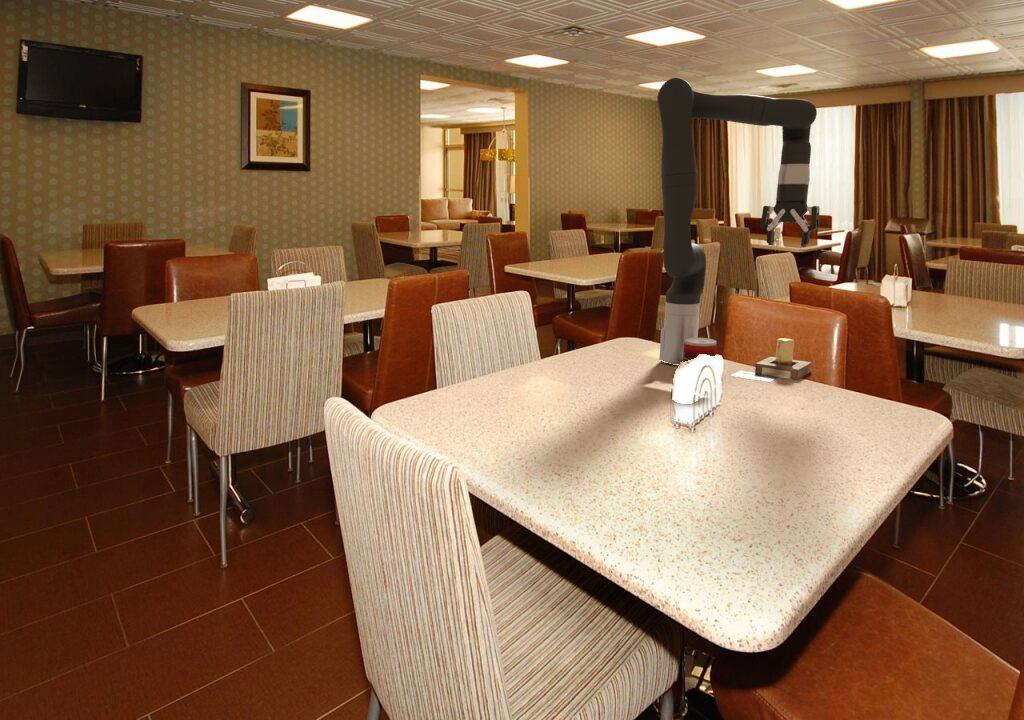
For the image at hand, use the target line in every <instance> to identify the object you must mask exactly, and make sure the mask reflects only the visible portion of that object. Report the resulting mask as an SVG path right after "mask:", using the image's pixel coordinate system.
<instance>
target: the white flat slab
mask: <svg viewBox="0 0 1024 720" xmlns="http://www.w3.org/2000/svg"><path fill="white" fill-rule="evenodd" d="M729 377H735V378H739V379H740V378H741V379H747V380H751V381H759V382H765V383H771V382H774V381H775V380H777V379H778V378H780V377H777V376H771V375H764V374H758V373H755V372H752V371H744V370H739V371H737V372H734V373H732V374H730V375H729Z"/></svg>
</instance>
